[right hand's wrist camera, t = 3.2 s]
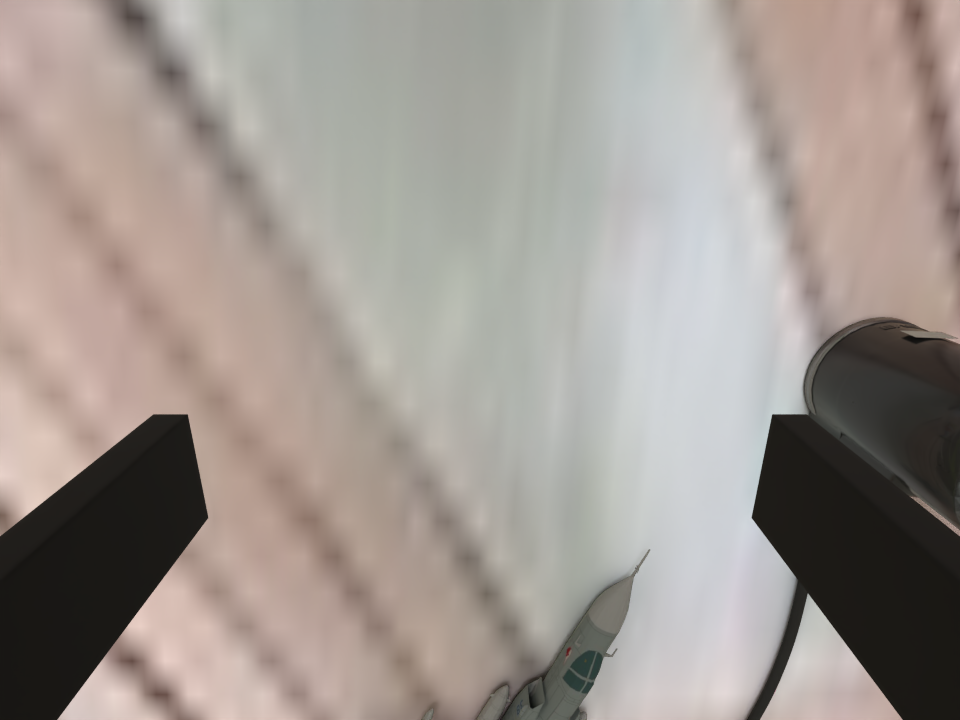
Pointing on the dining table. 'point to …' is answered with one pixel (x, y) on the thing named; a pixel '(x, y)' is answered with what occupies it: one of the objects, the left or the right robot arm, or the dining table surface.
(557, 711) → the airplane
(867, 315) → the dining table surface
